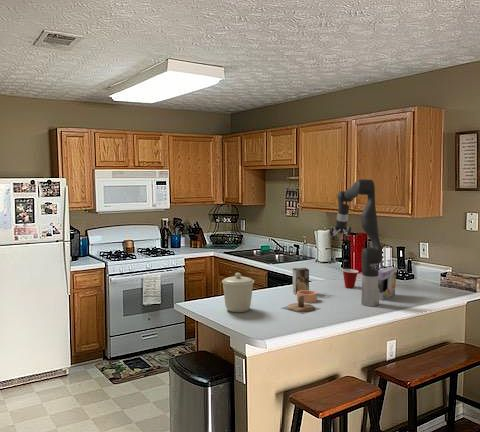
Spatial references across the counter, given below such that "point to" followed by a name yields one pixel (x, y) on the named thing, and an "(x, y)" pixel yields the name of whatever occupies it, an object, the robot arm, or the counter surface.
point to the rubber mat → (301, 312)
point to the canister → (237, 293)
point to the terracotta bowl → (307, 295)
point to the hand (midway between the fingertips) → (339, 240)
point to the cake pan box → (386, 282)
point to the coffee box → (300, 279)
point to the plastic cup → (350, 277)
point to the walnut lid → (301, 306)
